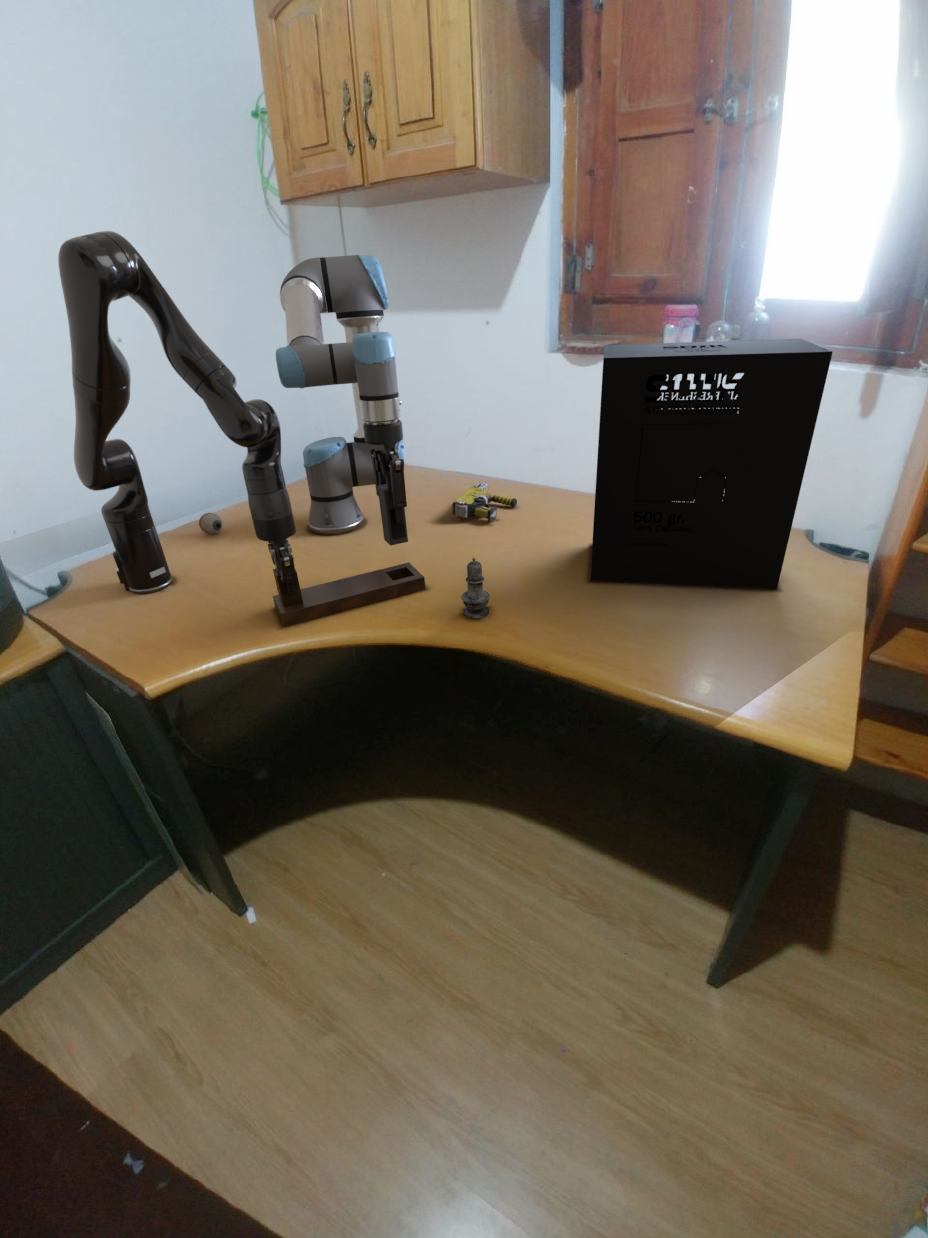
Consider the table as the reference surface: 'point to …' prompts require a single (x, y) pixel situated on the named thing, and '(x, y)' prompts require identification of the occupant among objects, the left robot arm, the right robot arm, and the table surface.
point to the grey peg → (388, 517)
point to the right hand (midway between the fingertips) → (395, 533)
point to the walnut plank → (345, 593)
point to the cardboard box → (703, 460)
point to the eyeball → (210, 523)
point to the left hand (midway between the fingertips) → (289, 591)
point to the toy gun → (479, 503)
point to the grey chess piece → (475, 592)
